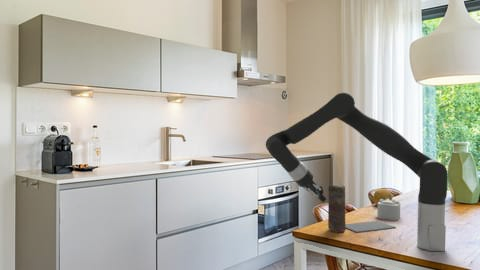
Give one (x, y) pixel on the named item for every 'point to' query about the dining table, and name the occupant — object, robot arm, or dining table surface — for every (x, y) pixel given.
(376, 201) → the potato
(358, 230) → the mat
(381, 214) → the lumpy-topped squat cylinder
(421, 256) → the dining table surface
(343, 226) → the dark brown tall block
